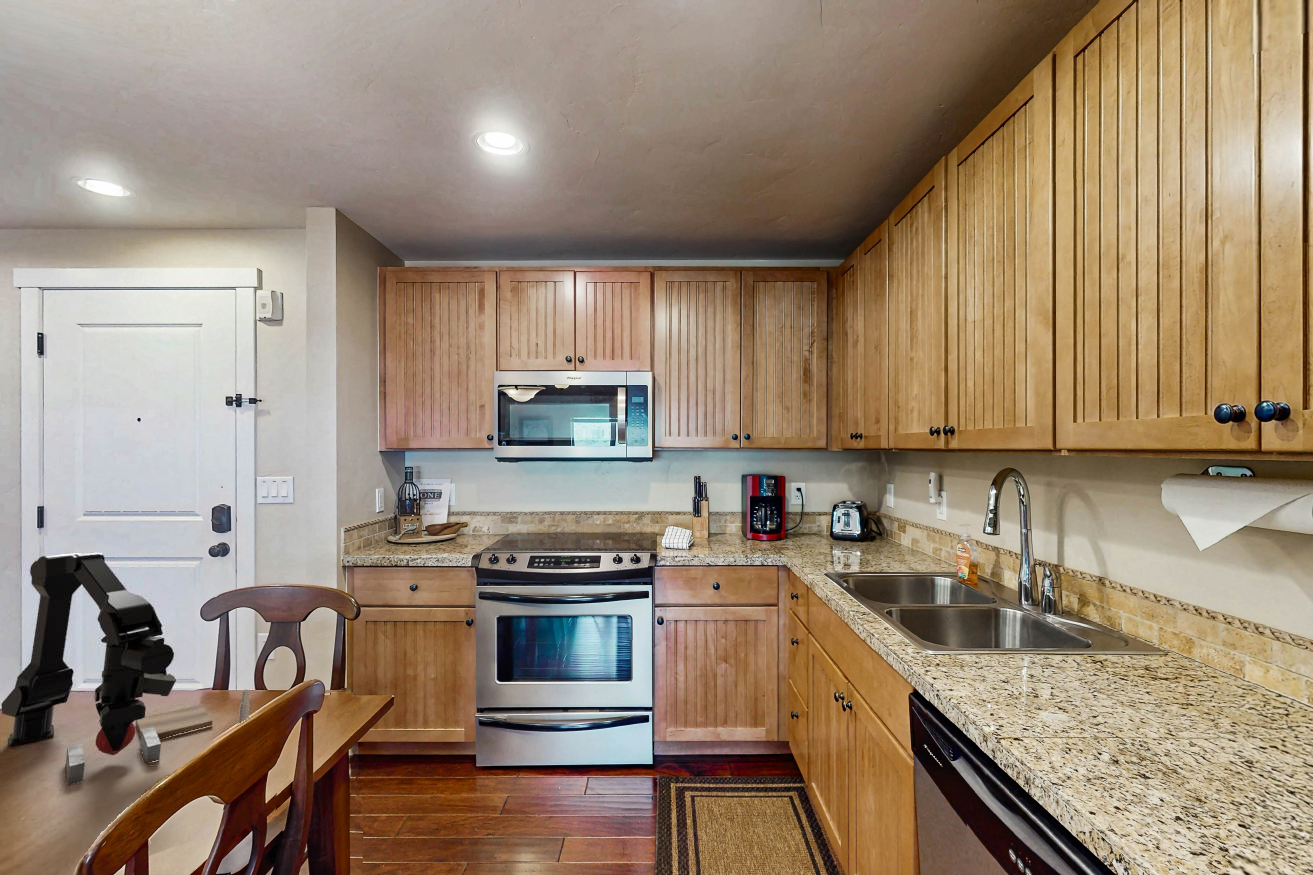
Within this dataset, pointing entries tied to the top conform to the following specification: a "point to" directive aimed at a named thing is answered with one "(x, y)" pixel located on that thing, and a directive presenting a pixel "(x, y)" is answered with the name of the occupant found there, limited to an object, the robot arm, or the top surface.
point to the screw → (244, 706)
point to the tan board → (175, 721)
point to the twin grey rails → (76, 760)
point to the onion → (105, 746)
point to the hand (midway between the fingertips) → (114, 744)
